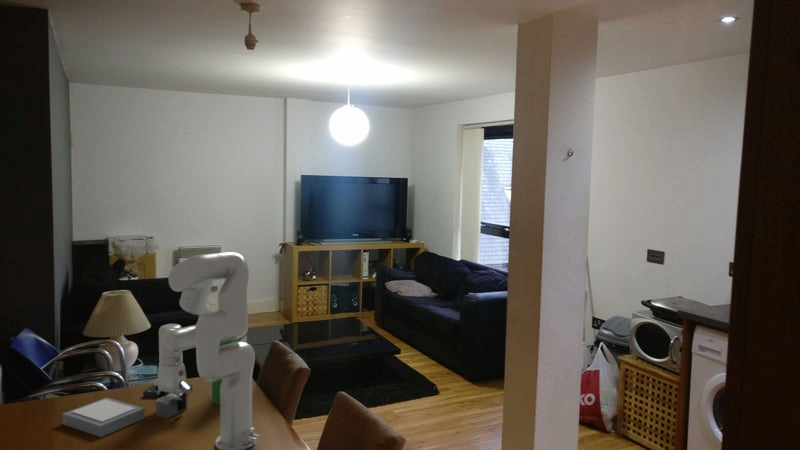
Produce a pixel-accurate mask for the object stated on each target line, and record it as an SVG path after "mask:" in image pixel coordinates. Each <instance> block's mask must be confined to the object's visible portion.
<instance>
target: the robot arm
mask: <svg viewBox="0 0 800 450" xmlns="http://www.w3.org/2000/svg"><path fill="white" fill-rule="evenodd" d="M249 271H250V270H249V265H248V262H247V260H246V259H245V257H244V256H243V255H242V254H240V253H237V252H234V251H221V252H213V253H212V252H211V253H204V254H196V255H192V256H190V257H188V258H186V259H184V260H183V261H180V262H178V263H177V264H175V265H174V266H173V267H172V268H171V270H170V272H169V275H168V285H169V288H171V290H172V291H173V292H182V293H181V296H180V299H179V306H180V307H181V309H182V310H183V311H185V312H187V313H189V314H192V315H195V316H196V315H197V316H198V319H197V322H196V324H194V325H188V326H184V327H182V325H180V324H179V323H178V324H177V323H167V324H164V325H161V326H160V327H159V329H158V352H159V353H158V354H159V355H158V356H159V358H158V359H159V363H158V369H157V378H156V379H154V380H153V385H155V389H156V391H157V395H158V398H160V397H163V396H165V395H167V393H166V392H168V393H172V394H176V395H177V397H178V399H179V400H177V411H179V412H180V411H182V410H184V409H186V398H187V399H188V396H190V392H191V391H190V387H189V386H188V385H187V384H188V381H187V372H186V366H185V364H184V363H183V361H184V360H183V359H184V358H183V357H184V356H183V351H186V350H189V349H194V348H195V354H196V356H195V358H196V367H197V368H196V369H197V372H198V376H199V377H200V378H201V380H202V381H204V382H206V383H212V382H213V381H217V380H220V379H223V380H222V383H221V386H220V404H219V412H220V413H219V414H220V416H219V419H220V420H219V421H220V423H219V424H220V428H219V429H220V433H219V435H218V436H217V437H216V438H215V444H214V445H215V447H216V449H218V450H246V449H249V448H250V447H253V446H254V445H255V446H256V445H257V444H259V440H260V439H261V435H260V434H257V433H256V432H255V427H253V402H252V401H253V399H252V398H253V396H252V395H253V394H252V393H253V374H254V373H253V372H254V368H255V362H256V353H255V350H254V347H253V346H252V345H251V344H250V343H248V342H247V343H246V342H234V343H230V344H226V345H223V346H220V347H219V345H220V343H222V342H226V341H230V340H233V339H237V338H240V337H242V336H244V335H245V334H246V333H247V332H248V331H249V330H248V329H249V311H248V308H249V307H248V285H249V275H250V272H249ZM221 280H225V281H224V282H223V284H222V285H221V287H220V288H219V292H218V296H217V297H218V298H217V299H218V300H217V301H218V309H217V310H216V311H212V312H211V311H210V309H209V308H208V306H207V305H208V302H209V298H210V295H211V291H212V288H213V284H214V282H215V281H221ZM178 390H180V391H178ZM180 393H182V396H181V395H180ZM158 398H157V399H158ZM180 413H181V412H180Z"/></svg>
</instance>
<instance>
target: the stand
mask: <svg viewBox="0 0 800 450" xmlns="http://www.w3.org/2000/svg"><path fill="white" fill-rule="evenodd" d="M145 412H146V411H145V408H144V407H142V406H138V405H135V404H131V403H128V402H123V401H121V400H118V399H114V398H111V397H104V398H101V399H98V400H96V401H94V402H93V401H92V402H90V403H87V404H85V405H82V406H79V407H77V408H74V409H70V410H69V411H65V412H63V413H62V414H61V416H62V418H61V420H62V425H64V426H66V427H67V426H68V427H71V428H72V429H76V430H79V431H80V432H81V431H82V432H84V433H87V434H90V435H93V436H97V437H99V438H102V437H105V436H107V435H110V434H111V433H114V432H116V431H119V430H121V429H123V428H126V427H129V426H130V425H134V424H135V423H137V422H140V421H142V420H145V418H146V413H145Z"/></svg>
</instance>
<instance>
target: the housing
mask: <svg viewBox="0 0 800 450" xmlns="http://www.w3.org/2000/svg"><path fill="white" fill-rule="evenodd" d="M180 395H181V396H182V393H180ZM177 400H179V399H178V397H177V395H176V394H172V393H170V394H168V395H165V396H163V397H160V398H155V409H156V413H155V415H156V417H160V418H162V419H165V420H166V419H169V418H171V417H173V416H177V415H178V414H180V413H182V411H183V412H185V411H186V410H188V397H187V398H186V409H184V410H185V411H184V410H182V411H180V412H179V411H177Z"/></svg>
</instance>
